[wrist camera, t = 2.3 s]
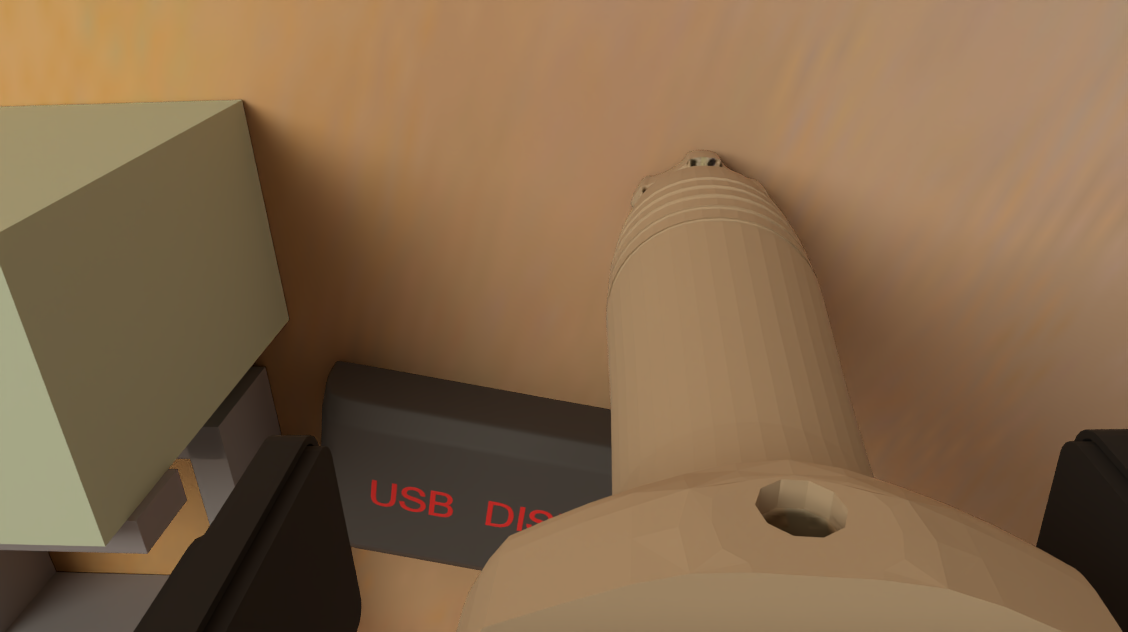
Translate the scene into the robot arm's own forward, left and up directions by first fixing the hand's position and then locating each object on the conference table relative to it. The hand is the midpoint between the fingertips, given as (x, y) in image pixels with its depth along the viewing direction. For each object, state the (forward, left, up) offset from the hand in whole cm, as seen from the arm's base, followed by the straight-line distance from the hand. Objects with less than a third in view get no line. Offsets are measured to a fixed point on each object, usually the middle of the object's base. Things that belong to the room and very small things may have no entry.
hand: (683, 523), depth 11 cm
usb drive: (+4, +8, -12) cm, 15 cm away
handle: (-1, 0, -12) cm, 12 cm away
